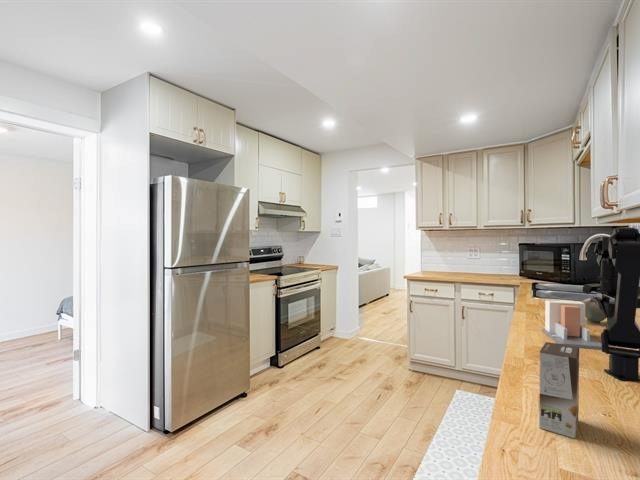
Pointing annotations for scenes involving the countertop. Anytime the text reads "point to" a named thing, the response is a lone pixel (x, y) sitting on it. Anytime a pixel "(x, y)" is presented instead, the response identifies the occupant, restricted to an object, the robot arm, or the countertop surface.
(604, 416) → the countertop surface
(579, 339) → the test rig
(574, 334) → the plug
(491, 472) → the countertop surface
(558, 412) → the coffee box
